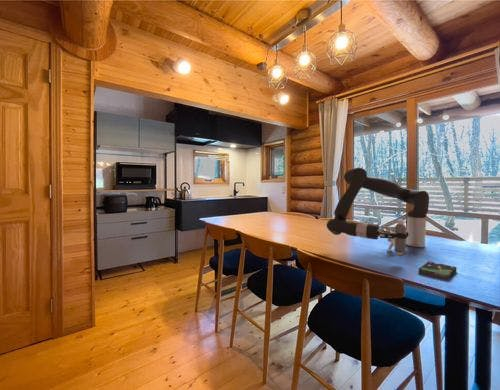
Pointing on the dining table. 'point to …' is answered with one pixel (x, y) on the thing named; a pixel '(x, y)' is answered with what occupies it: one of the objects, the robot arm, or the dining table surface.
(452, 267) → the disk drive
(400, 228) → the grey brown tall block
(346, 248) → the dining table surface
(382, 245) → the dining table surface
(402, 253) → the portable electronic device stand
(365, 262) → the dining table surface
